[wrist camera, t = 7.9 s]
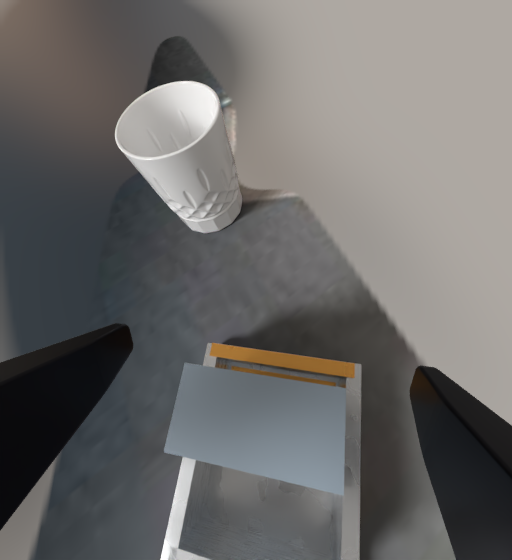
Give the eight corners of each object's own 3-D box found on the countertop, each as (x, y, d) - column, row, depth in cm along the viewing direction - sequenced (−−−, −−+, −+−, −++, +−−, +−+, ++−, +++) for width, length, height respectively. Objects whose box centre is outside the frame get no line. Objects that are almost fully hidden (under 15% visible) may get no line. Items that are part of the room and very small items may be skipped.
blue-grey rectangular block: (321, 435, 17) (343, 495, 8) (234, 418, 18) (163, 452, 9) (324, 386, 18) (346, 388, 9) (241, 373, 19) (184, 362, 10)
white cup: (245, 171, 28) (218, 70, 19) (251, 231, 25) (221, 144, 16) (178, 185, 29) (121, 94, 20) (175, 244, 26) (106, 169, 17)
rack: (355, 580, 15) (377, 661, 10) (182, 525, 17) (141, 573, 13) (358, 365, 19) (375, 359, 15) (219, 344, 21) (197, 334, 17)
